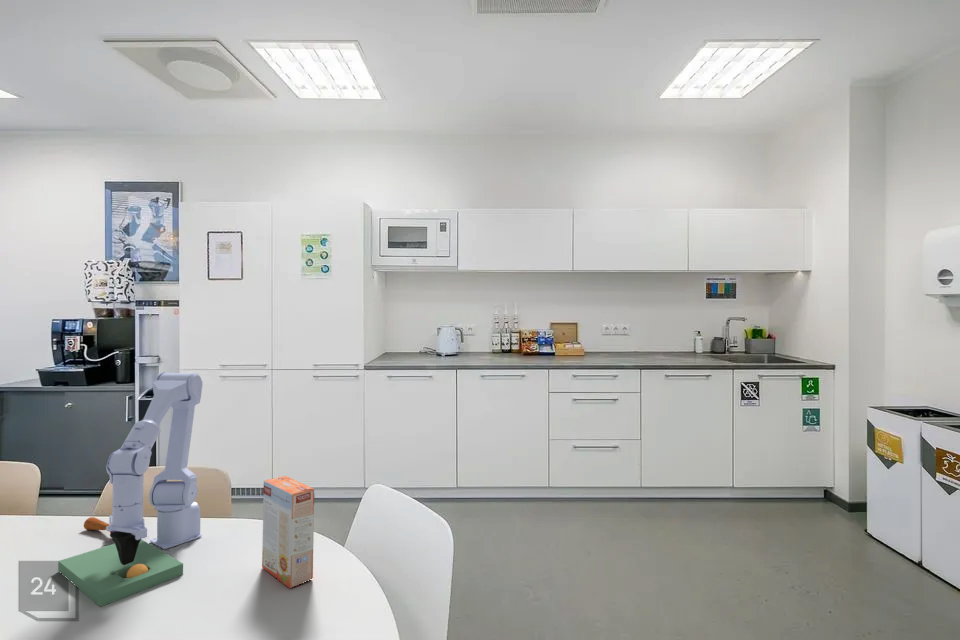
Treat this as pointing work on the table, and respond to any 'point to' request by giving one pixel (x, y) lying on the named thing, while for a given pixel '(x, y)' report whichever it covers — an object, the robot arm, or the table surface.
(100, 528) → the kendama
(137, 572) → the ball
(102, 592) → the putting mat
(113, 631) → the table surface
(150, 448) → the robot arm
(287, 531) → the cracker box
